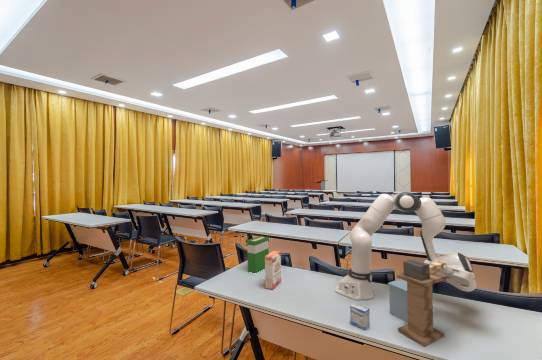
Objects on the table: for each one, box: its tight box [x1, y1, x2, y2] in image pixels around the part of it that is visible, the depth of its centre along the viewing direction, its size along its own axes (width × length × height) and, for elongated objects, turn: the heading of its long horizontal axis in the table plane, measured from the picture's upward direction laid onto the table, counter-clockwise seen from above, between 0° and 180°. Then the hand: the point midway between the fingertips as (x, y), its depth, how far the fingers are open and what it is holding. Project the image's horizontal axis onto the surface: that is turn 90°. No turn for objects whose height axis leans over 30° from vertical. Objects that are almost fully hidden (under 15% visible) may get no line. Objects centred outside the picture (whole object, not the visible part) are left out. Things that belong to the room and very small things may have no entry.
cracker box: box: [264, 250, 282, 290], centre depth 168 cm, size 14×6×21 cm, turn 156°
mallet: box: [402, 258, 446, 281], centre depth 115 cm, size 23×8×6 cm, turn 117°
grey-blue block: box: [387, 278, 408, 324], centre depth 129 cm, size 17×11×16 cm, turn 117°
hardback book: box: [246, 235, 270, 274], centre depth 197 cm, size 18×7×24 cm, turn 147°
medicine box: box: [349, 302, 371, 331], centre depth 120 cm, size 8×4×9 cm, turn 44°
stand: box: [396, 271, 447, 348], centre depth 113 cm, size 17×12×26 cm
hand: (438, 265), depth 119 cm, fingers closed on mallet, 3 cm apart
